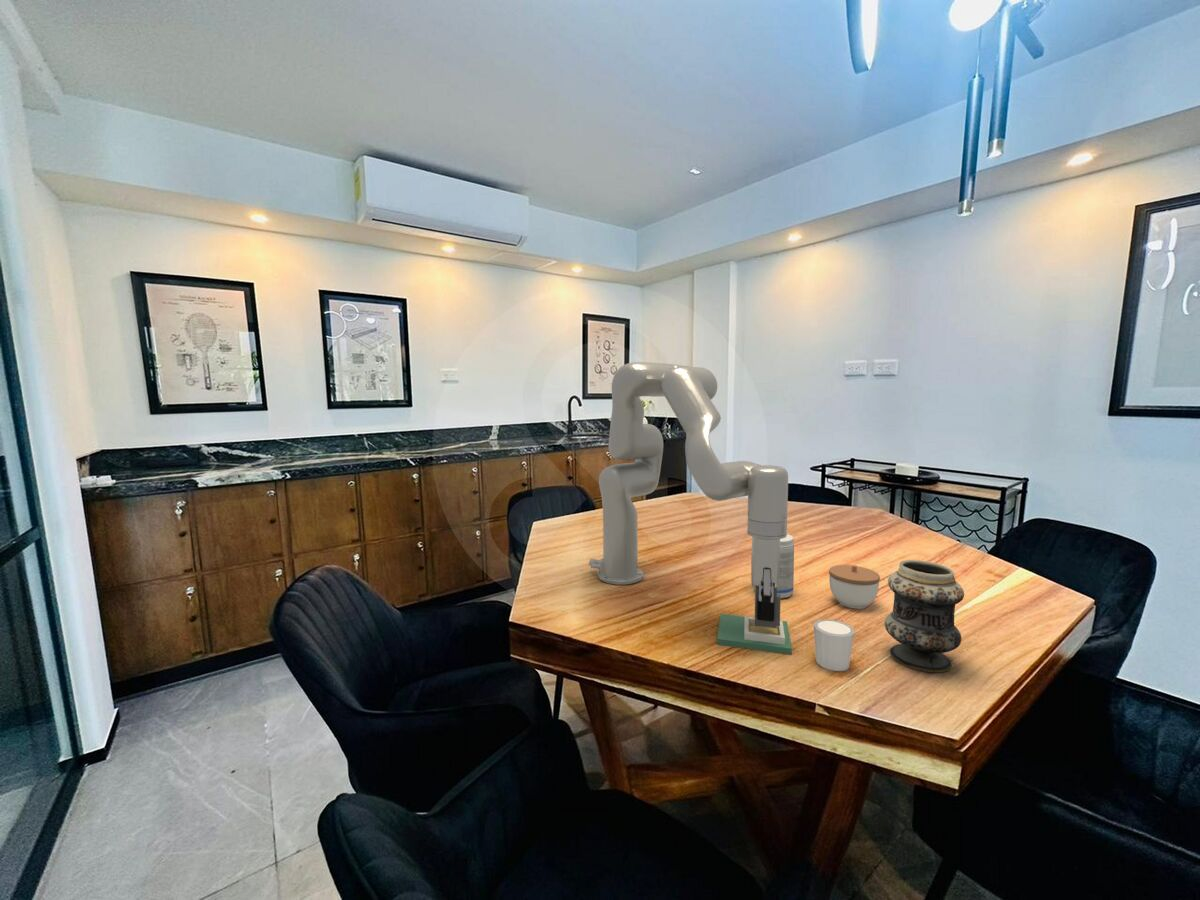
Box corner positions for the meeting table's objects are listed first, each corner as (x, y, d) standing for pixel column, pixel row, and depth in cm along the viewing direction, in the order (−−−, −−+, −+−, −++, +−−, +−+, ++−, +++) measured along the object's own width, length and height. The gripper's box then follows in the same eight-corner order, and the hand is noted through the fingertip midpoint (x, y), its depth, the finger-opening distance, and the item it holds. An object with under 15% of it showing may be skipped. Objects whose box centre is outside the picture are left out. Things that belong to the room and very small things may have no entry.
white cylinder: (805, 654, 94) (806, 619, 93) (839, 652, 94) (840, 617, 94) (824, 674, 87) (826, 636, 86) (861, 672, 88) (863, 635, 87)
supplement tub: (801, 594, 122) (803, 537, 121) (777, 603, 117) (778, 543, 116) (768, 582, 130) (770, 528, 129) (745, 590, 125) (746, 534, 124)
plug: (754, 625, 98) (755, 587, 97) (754, 617, 102) (755, 580, 101) (780, 628, 97) (781, 589, 96) (778, 619, 101) (779, 582, 100)
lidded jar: (837, 591, 124) (839, 555, 123) (884, 603, 117) (886, 565, 116) (820, 603, 117) (822, 565, 116) (869, 617, 109) (871, 577, 108)
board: (717, 644, 98) (717, 632, 98) (720, 618, 109) (720, 607, 109) (791, 654, 94) (792, 641, 93) (786, 626, 105) (787, 615, 105)
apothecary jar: (969, 662, 90) (977, 568, 89) (943, 684, 84) (950, 583, 82) (899, 637, 100) (904, 552, 98) (870, 655, 93) (875, 564, 91)
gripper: (747, 516, 107) (745, 597, 108) (747, 537, 91) (745, 631, 92) (783, 518, 104) (781, 601, 106) (790, 540, 88) (787, 636, 90)
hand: (765, 614), depth 99 cm, fingers closed on plug, 4 cm apart
